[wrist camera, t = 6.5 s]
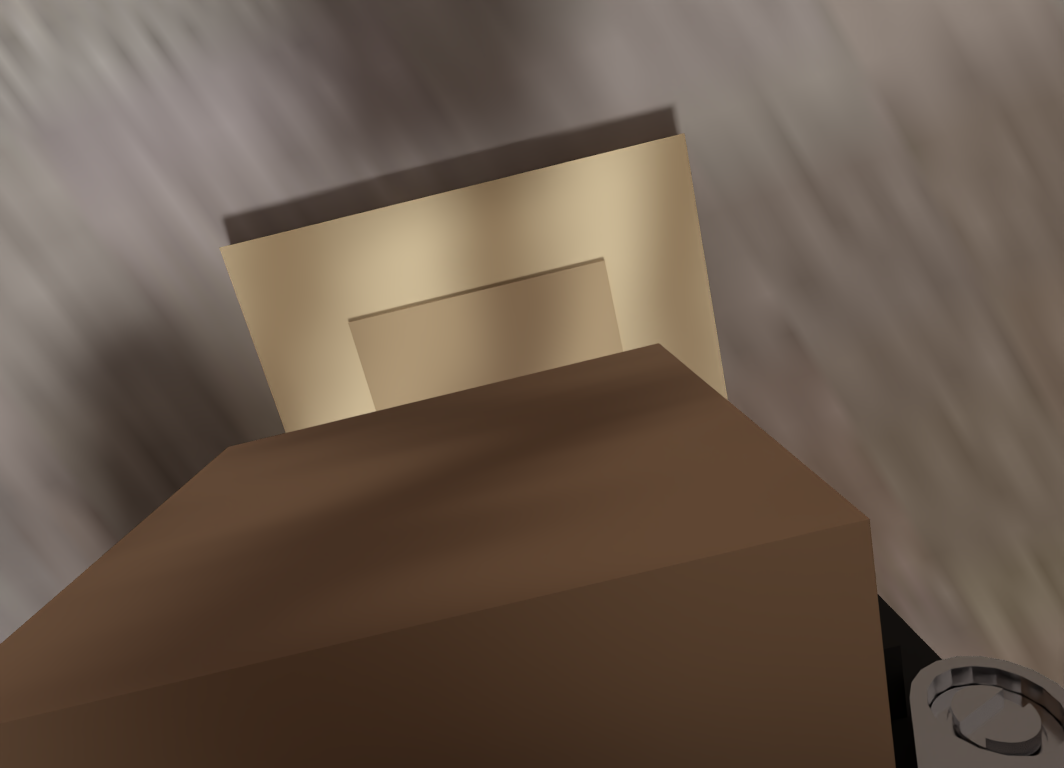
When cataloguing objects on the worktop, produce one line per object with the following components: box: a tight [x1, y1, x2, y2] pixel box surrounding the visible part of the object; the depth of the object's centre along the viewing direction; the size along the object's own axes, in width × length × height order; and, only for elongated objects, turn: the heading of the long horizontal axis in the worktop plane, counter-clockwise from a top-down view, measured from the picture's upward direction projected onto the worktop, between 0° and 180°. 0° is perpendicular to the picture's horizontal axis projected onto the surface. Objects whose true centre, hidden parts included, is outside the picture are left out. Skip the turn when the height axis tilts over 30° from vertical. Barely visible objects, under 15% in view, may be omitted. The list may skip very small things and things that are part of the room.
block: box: [0, 343, 896, 768], centre depth 8 cm, size 7×7×6 cm
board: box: [220, 133, 728, 433], centre depth 21 cm, size 14×14×1 cm
